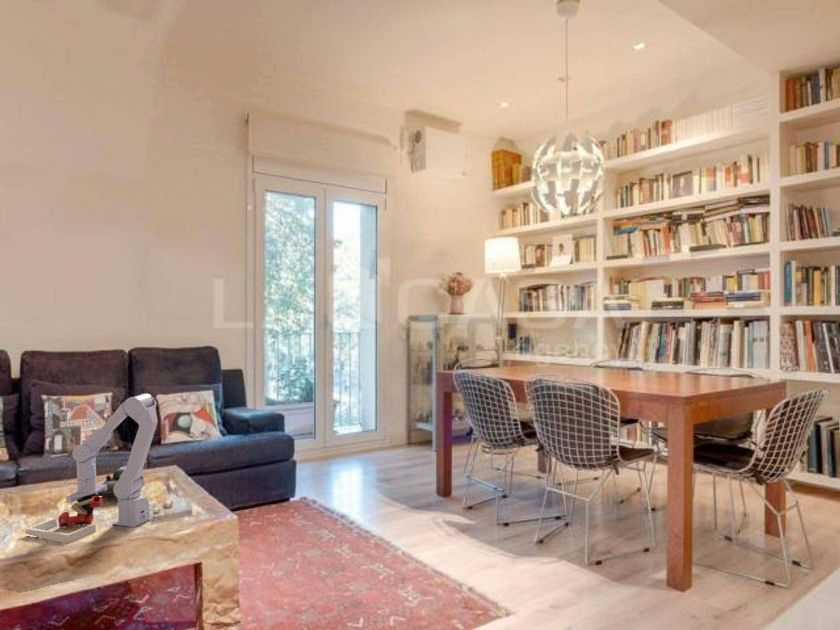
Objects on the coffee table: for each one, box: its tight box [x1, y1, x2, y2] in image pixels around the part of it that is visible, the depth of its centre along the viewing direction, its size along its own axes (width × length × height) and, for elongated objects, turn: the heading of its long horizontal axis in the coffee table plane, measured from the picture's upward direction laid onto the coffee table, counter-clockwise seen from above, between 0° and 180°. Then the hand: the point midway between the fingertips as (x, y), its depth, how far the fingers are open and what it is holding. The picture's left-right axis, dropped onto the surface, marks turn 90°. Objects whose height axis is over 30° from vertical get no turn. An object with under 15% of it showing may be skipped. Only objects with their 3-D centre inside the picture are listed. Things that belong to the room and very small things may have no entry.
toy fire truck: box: [57, 496, 104, 530], centre depth 199 cm, size 3×14×10 cm, turn 105°
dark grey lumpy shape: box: [96, 465, 127, 497], centre depth 231 cm, size 15×12×14 cm
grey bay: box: [25, 517, 97, 544], centre depth 193 cm, size 19×10×2 cm, turn 70°
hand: (88, 517), depth 203 cm, fingers closed
